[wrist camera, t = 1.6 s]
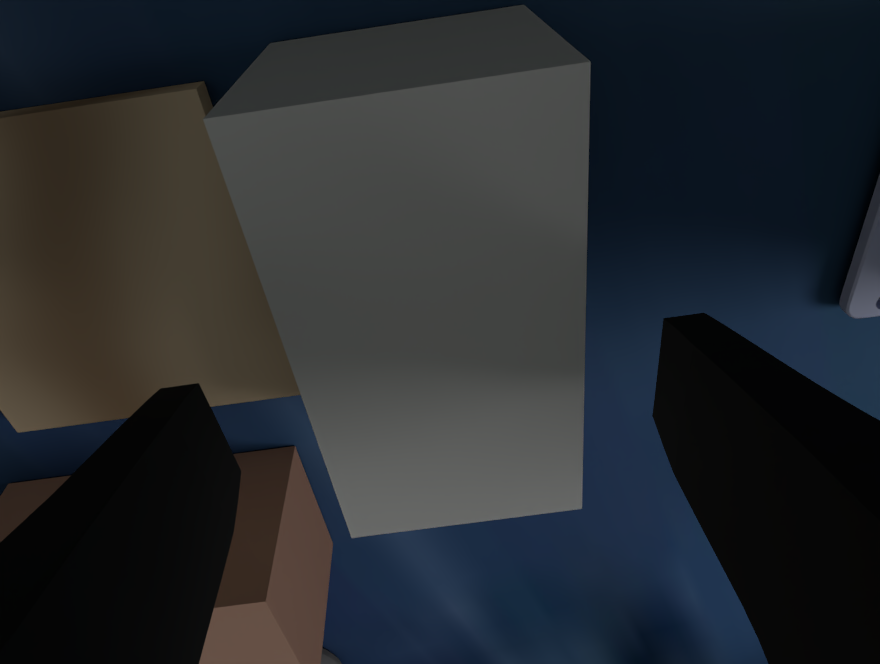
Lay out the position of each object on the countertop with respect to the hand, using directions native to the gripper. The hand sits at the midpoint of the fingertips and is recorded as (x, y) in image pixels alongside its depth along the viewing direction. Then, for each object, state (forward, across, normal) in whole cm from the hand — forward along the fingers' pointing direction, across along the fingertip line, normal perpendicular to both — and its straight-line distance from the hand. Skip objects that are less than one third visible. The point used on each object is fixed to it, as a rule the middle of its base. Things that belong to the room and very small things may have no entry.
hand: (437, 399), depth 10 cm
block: (+6, 0, 0) cm, 6 cm away
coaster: (+6, +8, 0) cm, 10 cm away
